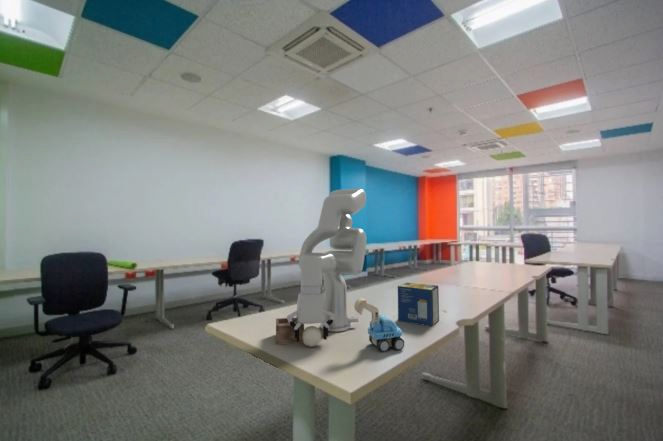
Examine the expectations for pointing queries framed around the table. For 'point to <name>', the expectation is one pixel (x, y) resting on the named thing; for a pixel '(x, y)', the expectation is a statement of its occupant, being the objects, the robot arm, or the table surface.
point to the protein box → (418, 303)
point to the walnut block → (287, 331)
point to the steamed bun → (311, 336)
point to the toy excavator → (381, 328)
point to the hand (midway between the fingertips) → (311, 339)
